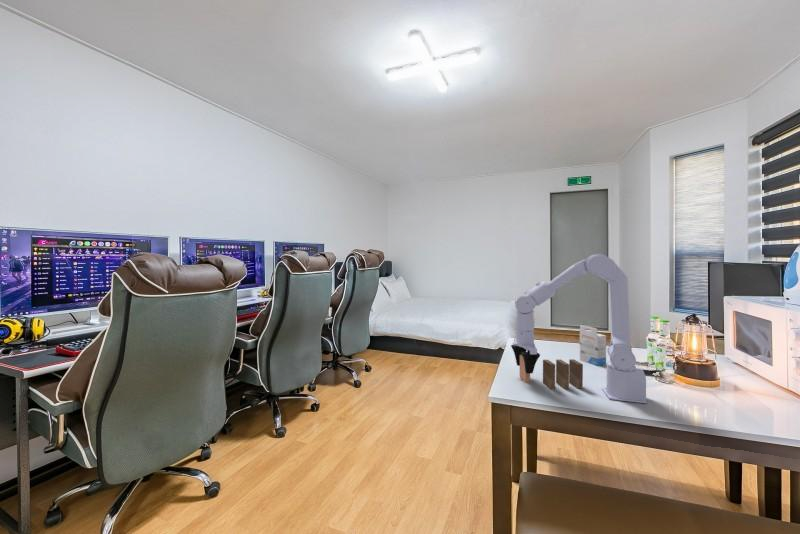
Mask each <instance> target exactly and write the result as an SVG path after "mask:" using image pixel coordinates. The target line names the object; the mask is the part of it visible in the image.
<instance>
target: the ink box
mask: <svg viewBox="0 0 800 534" xmlns="http://www.w3.org/2000/svg"><path fill="white" fill-rule="evenodd" d="M579 327H580V328H579V361H582V362H585V363H588V364H591V365H594V366H596V367H600V366H604V365H606V366H607V335H605V334H601V333H598V330H599V329H598V328H596V327H593V326H587V325H584V324H583V325H582V324H580V326H579Z"/></svg>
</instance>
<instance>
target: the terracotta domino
mask: <svg viewBox="0 0 800 534" xmlns="http://www.w3.org/2000/svg"><path fill="white" fill-rule="evenodd" d="M519 378H520V379H521V380H522V381H523V382H524V383H531V373H526V371H525V364H524V359H523V356H522V355H520V366H519Z"/></svg>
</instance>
